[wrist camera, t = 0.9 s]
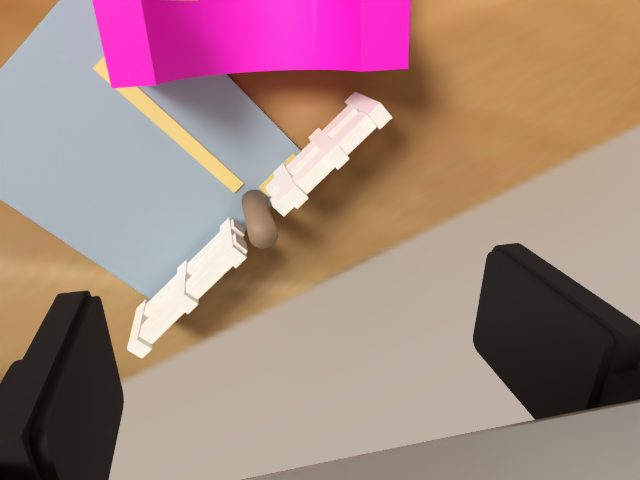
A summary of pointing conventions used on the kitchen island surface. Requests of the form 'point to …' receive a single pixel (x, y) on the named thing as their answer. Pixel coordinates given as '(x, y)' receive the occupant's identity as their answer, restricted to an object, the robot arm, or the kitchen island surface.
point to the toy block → (248, 37)
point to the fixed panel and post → (311, 166)
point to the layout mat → (126, 152)
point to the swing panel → (187, 287)
